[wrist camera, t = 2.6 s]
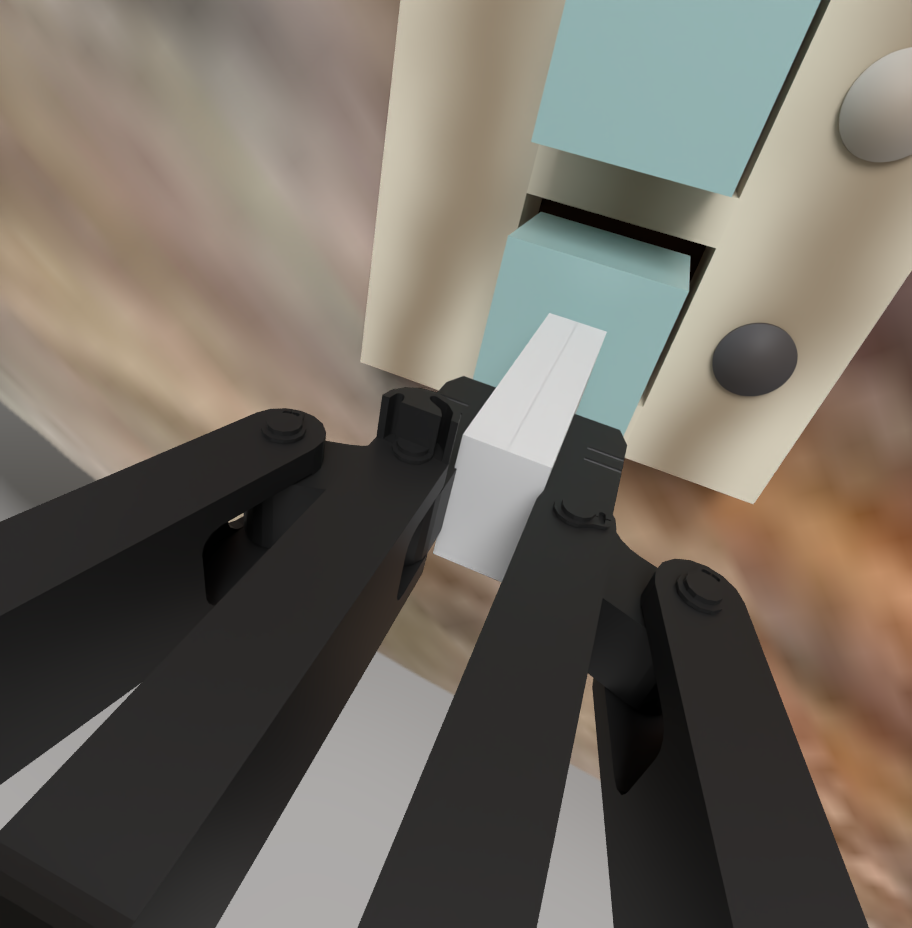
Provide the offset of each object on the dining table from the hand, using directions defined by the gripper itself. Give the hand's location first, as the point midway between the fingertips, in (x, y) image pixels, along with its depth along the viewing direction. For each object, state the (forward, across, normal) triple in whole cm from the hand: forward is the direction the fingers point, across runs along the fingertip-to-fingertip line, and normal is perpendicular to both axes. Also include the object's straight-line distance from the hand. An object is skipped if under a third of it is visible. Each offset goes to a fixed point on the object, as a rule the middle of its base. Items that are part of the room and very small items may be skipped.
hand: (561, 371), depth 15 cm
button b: (+6, 0, +7) cm, 9 cm away
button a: (+6, 0, 0) cm, 6 cm away
